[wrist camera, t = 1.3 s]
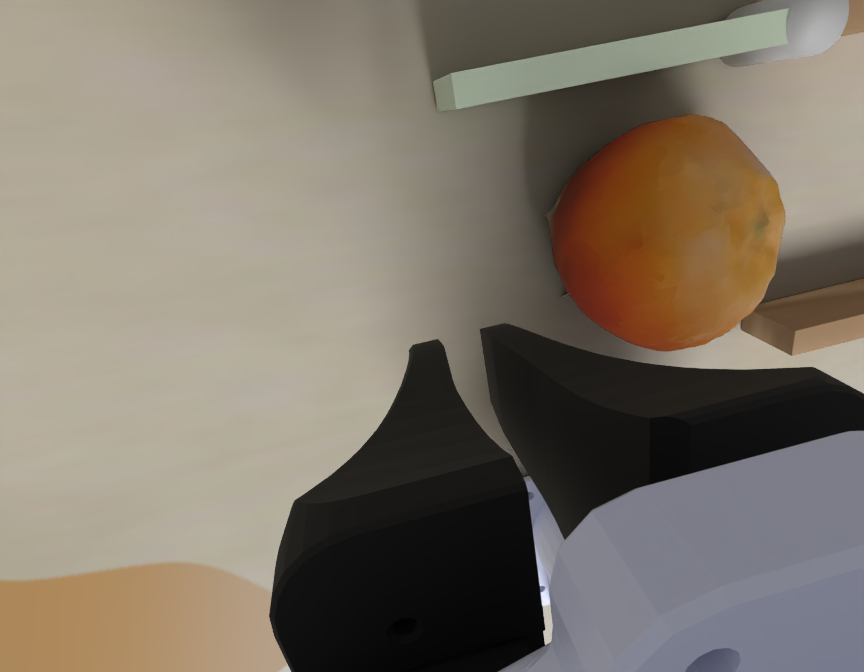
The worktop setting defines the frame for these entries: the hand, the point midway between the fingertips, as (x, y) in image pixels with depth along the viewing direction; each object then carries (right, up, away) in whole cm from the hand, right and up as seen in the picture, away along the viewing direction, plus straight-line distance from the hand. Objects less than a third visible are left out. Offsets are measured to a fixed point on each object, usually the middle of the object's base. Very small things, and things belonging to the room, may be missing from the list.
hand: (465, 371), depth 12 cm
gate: (+6, +11, +7) cm, 14 cm away
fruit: (+7, +6, +10) cm, 13 cm away
